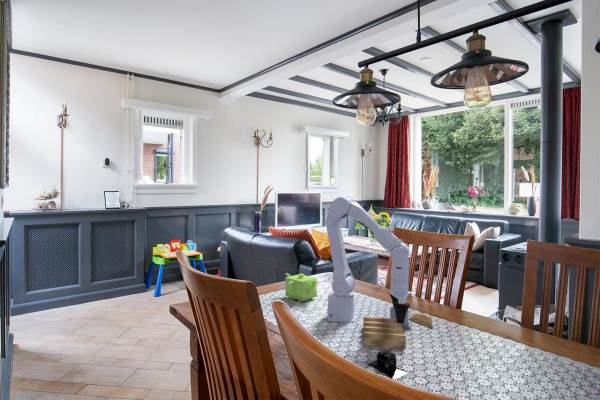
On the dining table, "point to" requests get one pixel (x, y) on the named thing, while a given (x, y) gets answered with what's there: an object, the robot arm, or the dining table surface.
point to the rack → (383, 332)
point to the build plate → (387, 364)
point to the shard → (422, 319)
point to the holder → (406, 327)
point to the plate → (393, 315)
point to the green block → (301, 287)
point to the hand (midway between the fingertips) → (398, 318)
